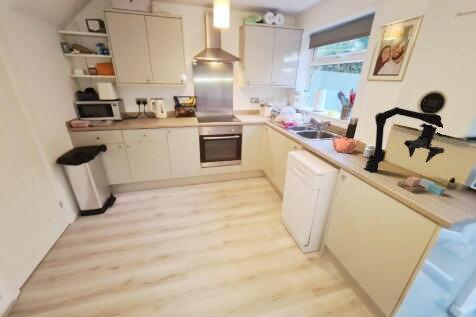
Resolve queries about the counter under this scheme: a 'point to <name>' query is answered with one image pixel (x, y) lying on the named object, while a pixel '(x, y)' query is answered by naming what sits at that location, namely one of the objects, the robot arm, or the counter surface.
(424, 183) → the grey brick
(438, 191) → the teal brick
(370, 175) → the counter surface
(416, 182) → the terracotta brick
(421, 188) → the walnut slab
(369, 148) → the pill bottle
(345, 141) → the pot
